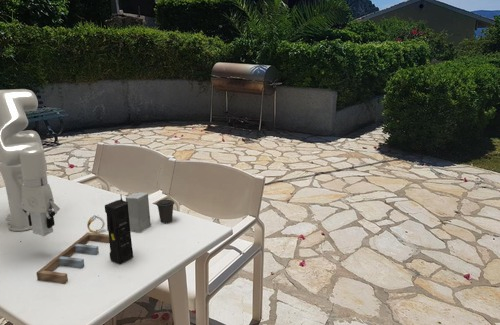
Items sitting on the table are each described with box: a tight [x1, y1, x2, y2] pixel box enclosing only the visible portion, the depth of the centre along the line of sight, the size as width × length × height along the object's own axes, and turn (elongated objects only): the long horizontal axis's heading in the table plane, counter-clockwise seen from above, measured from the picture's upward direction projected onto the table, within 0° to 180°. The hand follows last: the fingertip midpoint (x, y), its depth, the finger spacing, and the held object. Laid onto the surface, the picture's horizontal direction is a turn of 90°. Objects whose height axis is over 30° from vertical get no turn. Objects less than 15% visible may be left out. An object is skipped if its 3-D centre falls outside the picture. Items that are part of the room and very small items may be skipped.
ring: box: [86, 214, 106, 234], centre depth 160 cm, size 7×3×8 cm, turn 120°
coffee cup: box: [156, 199, 175, 224], centre depth 172 cm, size 8×8×10 cm
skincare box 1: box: [30, 211, 54, 237], centre depth 139 cm, size 6×4×12 cm
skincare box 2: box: [125, 191, 152, 233], centre depth 164 cm, size 8×7×16 cm
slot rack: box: [36, 232, 110, 285], centre depth 140 cm, size 10×30×3 cm, turn 170°
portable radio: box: [104, 195, 134, 265], centre depth 137 cm, size 8×6×25 cm
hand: (42, 225), depth 140 cm, fingers closed on skincare box 1, 6 cm apart
